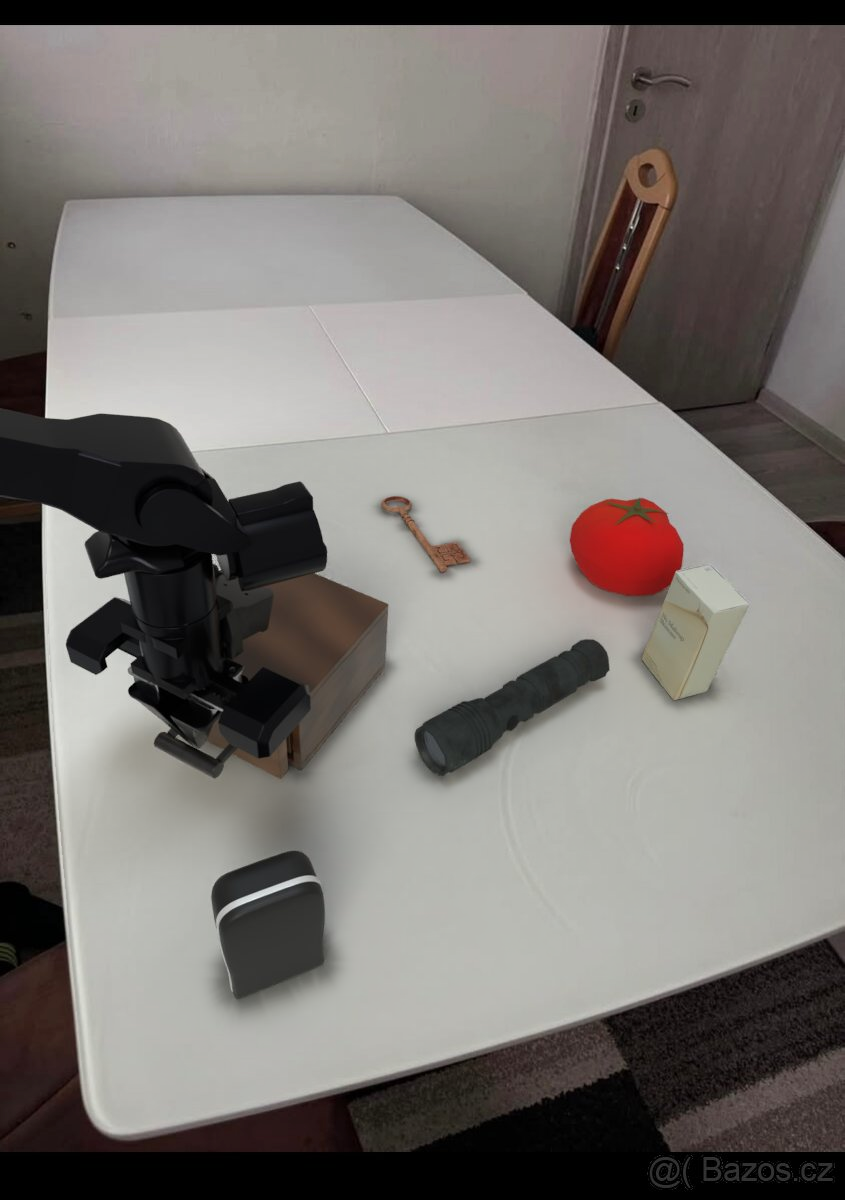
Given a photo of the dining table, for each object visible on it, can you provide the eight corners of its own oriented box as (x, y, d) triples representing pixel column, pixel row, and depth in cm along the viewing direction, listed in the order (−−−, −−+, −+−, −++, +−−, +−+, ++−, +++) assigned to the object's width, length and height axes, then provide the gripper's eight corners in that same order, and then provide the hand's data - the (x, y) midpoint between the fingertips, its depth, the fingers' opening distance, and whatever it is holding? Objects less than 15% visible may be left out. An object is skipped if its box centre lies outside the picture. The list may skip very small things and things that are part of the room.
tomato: (656, 626, 88) (682, 552, 82) (548, 584, 93) (565, 510, 86) (684, 572, 96) (710, 500, 89) (583, 535, 100) (601, 463, 93)
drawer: (244, 822, 66) (238, 771, 61) (136, 763, 69) (122, 711, 65) (363, 680, 78) (364, 629, 74) (266, 636, 82) (262, 584, 77)
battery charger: (311, 918, 61) (307, 833, 53) (328, 964, 58) (327, 882, 51) (218, 954, 59) (201, 870, 51) (232, 1004, 56) (216, 924, 48)
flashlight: (411, 751, 73) (414, 715, 70) (571, 659, 84) (581, 624, 80) (445, 789, 71) (450, 753, 67) (607, 689, 81) (618, 654, 77)
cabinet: (301, 770, 71) (298, 705, 65) (187, 712, 75) (175, 647, 69) (385, 667, 81) (388, 603, 75) (280, 621, 85) (276, 557, 79)
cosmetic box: (639, 659, 84) (671, 569, 76) (675, 650, 86) (709, 560, 78) (674, 703, 80) (712, 612, 72) (711, 692, 81) (752, 602, 73)
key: (472, 567, 94) (418, 496, 104) (473, 561, 94) (419, 490, 103) (427, 574, 92) (376, 502, 102) (428, 568, 91) (377, 495, 101)
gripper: (352, 584, 58) (349, 724, 69) (151, 500, 64) (176, 641, 75) (258, 681, 51) (270, 822, 61) (39, 576, 57) (84, 721, 67)
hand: (199, 743), depth 66 cm, fingers closed
